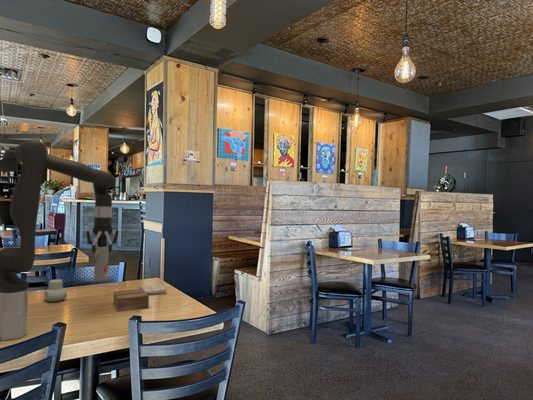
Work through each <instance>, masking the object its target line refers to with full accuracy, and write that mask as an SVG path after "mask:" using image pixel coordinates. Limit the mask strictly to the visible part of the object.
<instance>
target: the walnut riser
mask: <svg viewBox="0 0 533 400" xmlns="http://www.w3.org/2000/svg"><path fill="white" fill-rule="evenodd" d="M149 298H150V296H148V294H147V293H146V292H145V291H144V290H143V289H140V288H138V289H128V290H119V291H113V306H114V309H115V310H116V313H118V312H127V311H129V312H130V311H137V310H145V309H149V303H150V302H149V301H150V299H149Z"/></svg>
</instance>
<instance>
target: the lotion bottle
mask: <svg viewBox="0 0 533 400" xmlns="http://www.w3.org/2000/svg"><path fill="white" fill-rule="evenodd" d="M107 244H108V240H107V238H98V240H97V244H96V251H95V253H94V271H93V272H94V274H93V275H94V276H93V277H94V281H96V282H105V281H108V280H109V279H108V278H109V277H108V275H109V254H110V253H109V247H108V245H107Z"/></svg>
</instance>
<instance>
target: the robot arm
mask: <svg viewBox="0 0 533 400" xmlns="http://www.w3.org/2000/svg"><path fill="white" fill-rule="evenodd" d="M14 157H15V158H16V160H17V161H18V162H20V164H21V167H20V174H19V177H18V178H17V181H16V184H15V186H14V188H13V191H12V194H11V199H10V204H9V205H10V207H9V214H10V217H11V219H12V221H13V223H14V224H15V227H16V228H17V231H18V232H19V237H20V245H19V247H9V246H8V247H3V248H2V249H0V341H2V342H3V341H9V340H17V339H21V338H22V337H24V336H25V337H26V335H27V334H28V311H29V310H28V308H29V306H28V305H29V282H28V281H27V280H25V279H23V278H21V277H20V276H18V275H17V274H16V273H29V272H30V271H31V269H33V266H34V264H35V257H36V254H35V253H36V231H37V221H38V215H39V208H40V201H41V200H40V198H41V189H42V179H43V178H42V176H43V172H44V169H46V170H49V171H53V172H57V173H59V174H63V175H65V176H68V177H70V178H73V179H76V180H80V181H82V182H86V183H91V184H92V185H93V191H94V196H95V199H94V210H93V228H92V229H89V230H86V231H85V234H86V239H87V244H89V245H91V252H92V253H93V254H95V251H96V247H97V244H96V243H98V238H107V244H108V245H107V247H109V254H110V253H111V252H112V251H113V245H114V244H116V243H117V242H118V236H119V232H120V231H119V230H118V229H116V230H115V229H113V228H112V223H113V208H112V205H113V204H112V203H113V197H112V194H110V192H109V189H110V188H112V187H114V185H115V184H116V179H115V176H114V175H113V174H112V173H110V172H108V171H105V170H100V169H99V168H98V169H97V168H94V167H91V166H89V165H86V164H84V163H81V162H79V161H76V160H73V159H68V158H67V159H66V158H62V157H59V156H56V155H52V154H49V153H48V151H47V147H46V145H45V144H44V143H43V142H42V141H40V140H39V139H36V138H35V139H29V140H25V141H23V142H21V143H19V144H17V146H16V147H15V149H14ZM92 234H94V238H93V240H92V239H91V236H92ZM111 234H112V235H114V236H113V239H112V240H111V237H110V236H111Z"/></svg>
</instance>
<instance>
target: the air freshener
mask: <svg viewBox="0 0 533 400" xmlns="http://www.w3.org/2000/svg"><path fill="white" fill-rule="evenodd" d="M48 282H49V283H48V284H49V285H48V289H46V290H45V291H44V294H43V296H44V300H45V301H47V302H50V303H53V302H54V303H55V302H61V301H63V300H65V299H66V298H67V297H68V295H67V294H68V292H67V290H66V288H65V287H63V284H64V282H63V279H60V278H58V279H51V280H50V281H48Z"/></svg>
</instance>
